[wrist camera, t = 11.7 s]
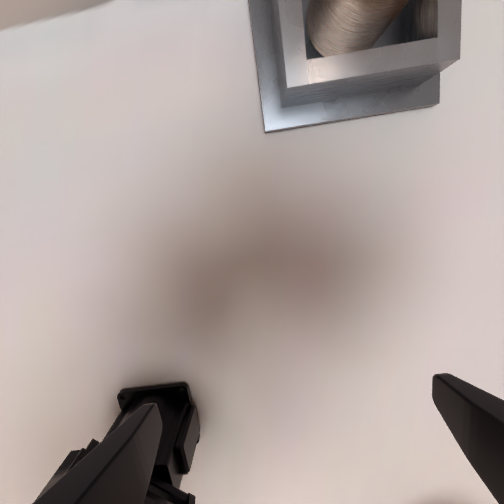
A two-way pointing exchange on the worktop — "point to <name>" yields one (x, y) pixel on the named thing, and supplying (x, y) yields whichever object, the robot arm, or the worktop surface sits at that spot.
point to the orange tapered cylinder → (349, 23)
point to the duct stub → (350, 64)
